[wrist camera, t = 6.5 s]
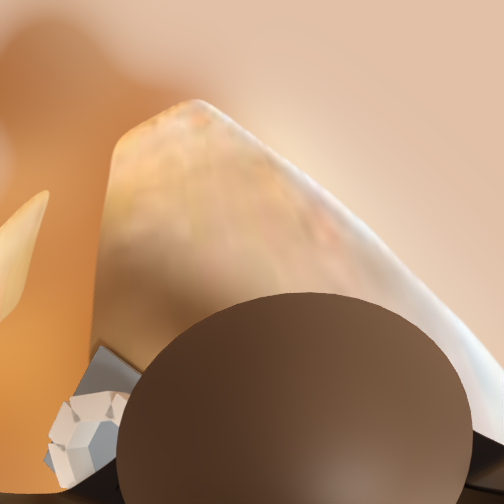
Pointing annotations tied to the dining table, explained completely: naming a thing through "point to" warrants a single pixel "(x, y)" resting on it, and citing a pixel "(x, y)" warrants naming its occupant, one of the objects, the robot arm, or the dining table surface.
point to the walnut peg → (297, 410)
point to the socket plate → (100, 382)
